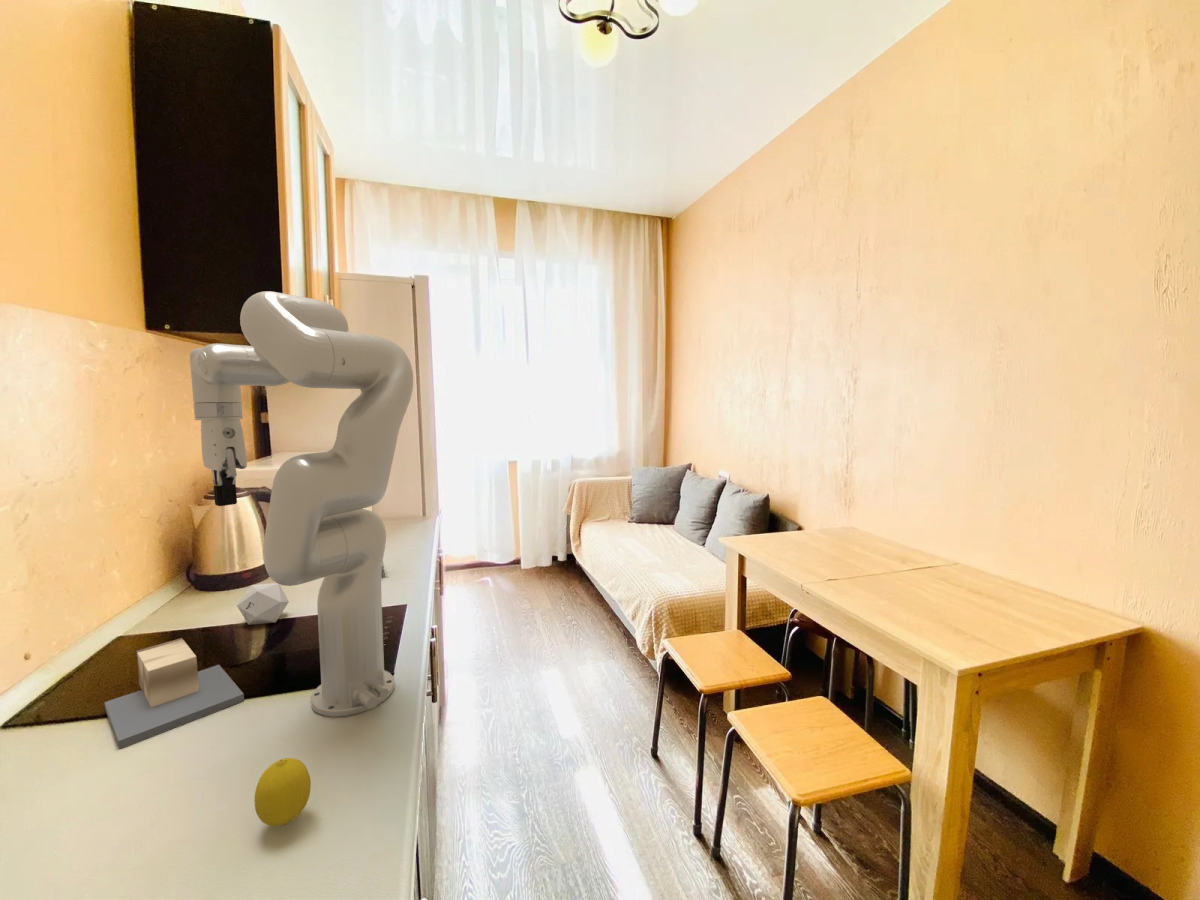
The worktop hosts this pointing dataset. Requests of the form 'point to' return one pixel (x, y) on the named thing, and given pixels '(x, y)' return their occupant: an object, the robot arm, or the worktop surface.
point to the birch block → (167, 671)
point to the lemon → (282, 792)
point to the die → (263, 603)
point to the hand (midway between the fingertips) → (226, 504)
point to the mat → (170, 708)
